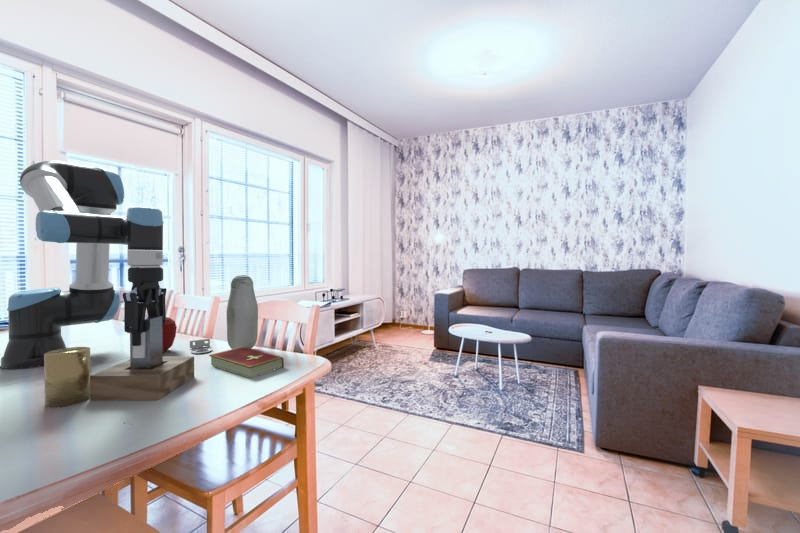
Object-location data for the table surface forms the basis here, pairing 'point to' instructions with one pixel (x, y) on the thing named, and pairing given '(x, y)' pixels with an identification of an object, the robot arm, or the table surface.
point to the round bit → (67, 376)
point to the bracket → (200, 344)
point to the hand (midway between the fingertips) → (146, 354)
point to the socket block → (141, 380)
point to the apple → (168, 333)
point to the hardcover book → (246, 361)
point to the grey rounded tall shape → (242, 314)
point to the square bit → (149, 345)
